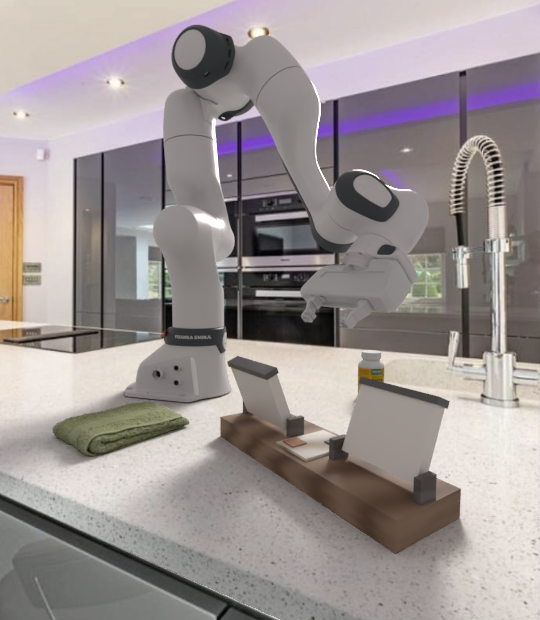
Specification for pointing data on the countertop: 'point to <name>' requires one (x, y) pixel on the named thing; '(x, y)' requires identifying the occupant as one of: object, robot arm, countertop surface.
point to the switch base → (346, 479)
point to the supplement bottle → (371, 366)
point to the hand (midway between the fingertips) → (324, 322)
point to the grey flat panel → (394, 428)
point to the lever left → (261, 390)
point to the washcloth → (118, 427)
